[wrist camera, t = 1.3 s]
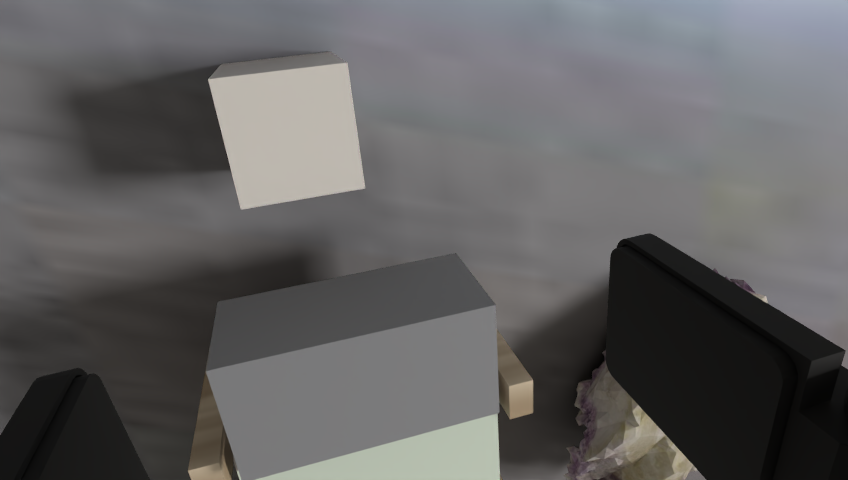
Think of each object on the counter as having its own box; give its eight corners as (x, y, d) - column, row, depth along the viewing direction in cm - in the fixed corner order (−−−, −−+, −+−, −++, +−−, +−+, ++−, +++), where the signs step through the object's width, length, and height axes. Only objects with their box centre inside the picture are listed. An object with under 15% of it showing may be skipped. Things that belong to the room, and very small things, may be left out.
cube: (221, 64, 24) (208, 79, 19) (330, 51, 25) (347, 62, 20) (246, 168, 26) (240, 209, 21) (346, 153, 27) (365, 188, 22)
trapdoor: (205, 303, 23) (190, 374, 18) (465, 251, 25) (507, 302, 21) (294, 590, 31) (298, 685, 27) (482, 530, 34) (514, 609, 29)
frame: (209, 345, 29) (187, 471, 21) (467, 288, 32) (533, 380, 24) (261, 505, 35) (258, 653, 27) (477, 444, 38) (533, 560, 30)
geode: (693, 262, 44) (556, 259, 36) (823, 272, 35) (678, 271, 28) (682, 464, 44) (544, 500, 37) (808, 521, 36) (661, 582, 28)
